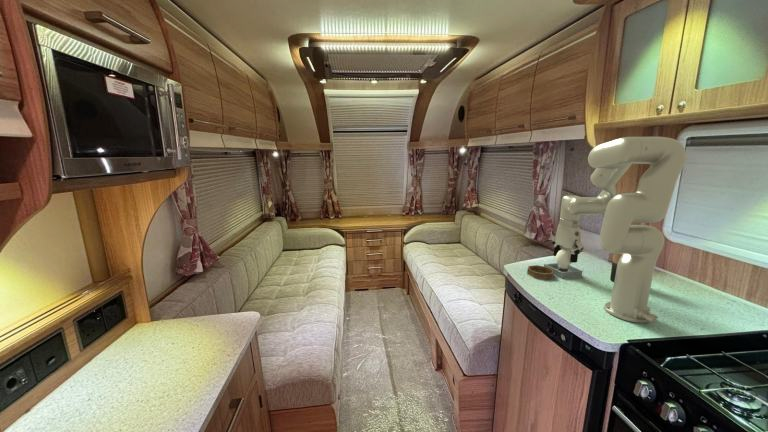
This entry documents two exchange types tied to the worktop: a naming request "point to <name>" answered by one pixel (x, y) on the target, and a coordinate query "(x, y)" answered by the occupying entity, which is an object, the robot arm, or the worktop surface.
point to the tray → (571, 272)
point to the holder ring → (540, 275)
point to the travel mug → (614, 266)
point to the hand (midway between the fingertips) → (564, 258)
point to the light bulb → (563, 260)
